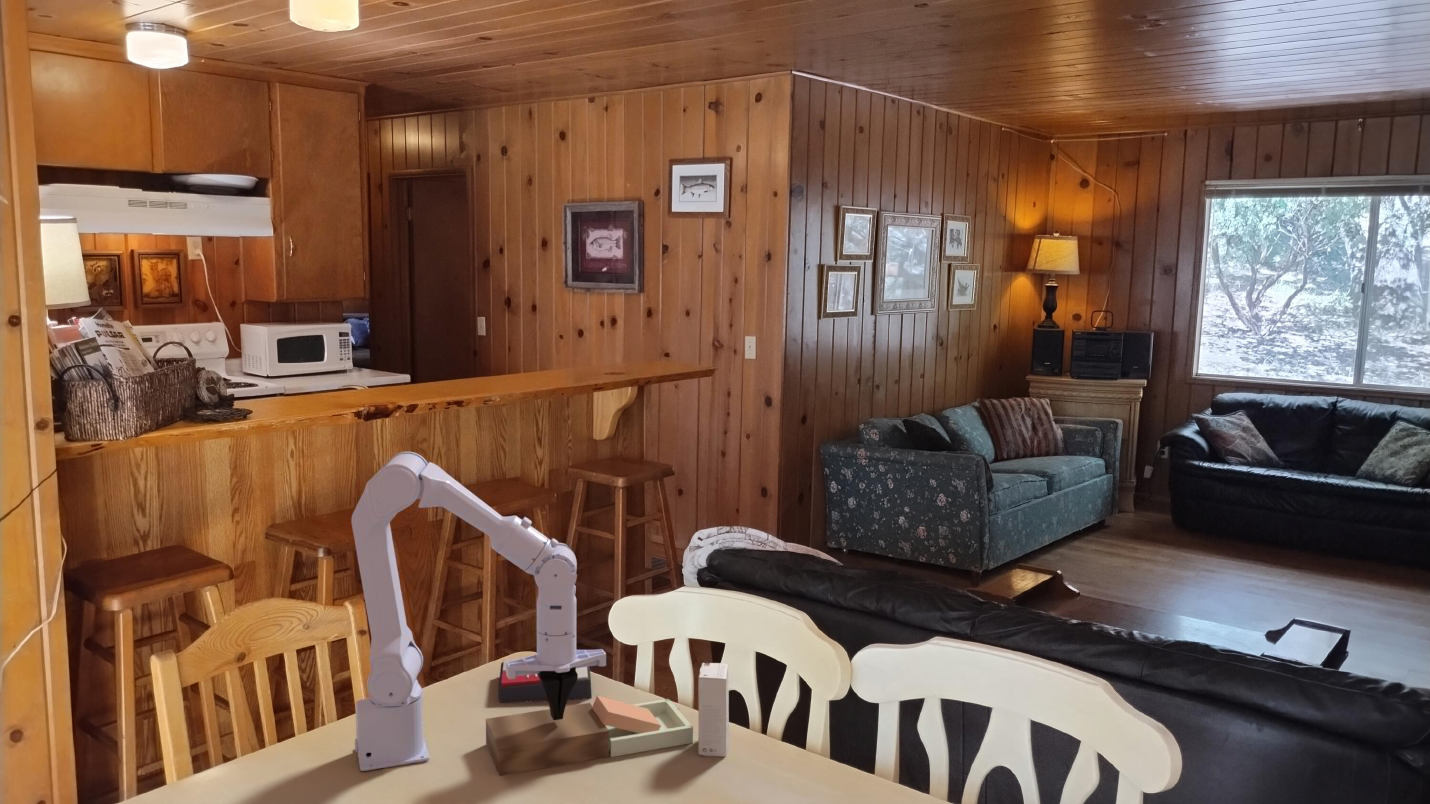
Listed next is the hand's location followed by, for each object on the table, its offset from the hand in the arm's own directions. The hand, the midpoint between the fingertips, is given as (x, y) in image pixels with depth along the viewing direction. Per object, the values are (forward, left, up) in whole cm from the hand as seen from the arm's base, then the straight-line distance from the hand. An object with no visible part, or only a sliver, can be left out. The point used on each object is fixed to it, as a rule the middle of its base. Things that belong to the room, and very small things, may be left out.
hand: (556, 716), depth 155 cm
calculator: (+4, +22, -6) cm, 23 cm away
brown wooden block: (-1, 0, -5) cm, 5 cm away
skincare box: (+22, -8, -5) cm, 24 cm away
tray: (+13, 0, -5) cm, 14 cm away
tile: (+10, 0, -3) cm, 11 cm away
